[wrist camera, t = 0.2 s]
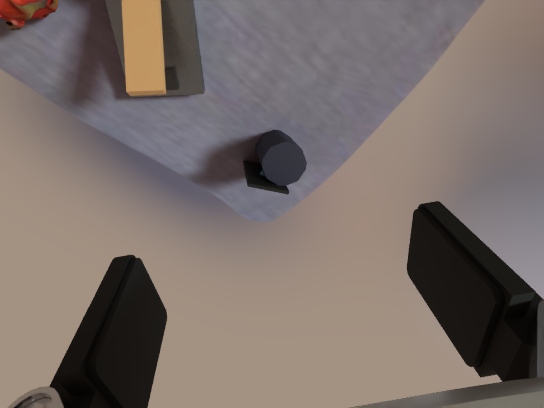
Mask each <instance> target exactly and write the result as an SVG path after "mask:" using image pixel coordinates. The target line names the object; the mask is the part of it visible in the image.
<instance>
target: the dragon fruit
mask: <svg viewBox="0 0 544 408" xmlns="http://www.w3.org/2000/svg"><path fill="white" fill-rule="evenodd" d="M57 7H58V0H0V18H2V19H4V20H7V21H9V22H6V25H7V27H8V28H9V29H10V30H16V29H21V28H22V27H23V26H24V25H25V24H24V22H25V21H26V20H28V19H34V18H38V19H39V18H40V19H43V18H46V17H47V16H48V15H49V14H50V13H52V12H55V11H56V9H57Z"/></svg>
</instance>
